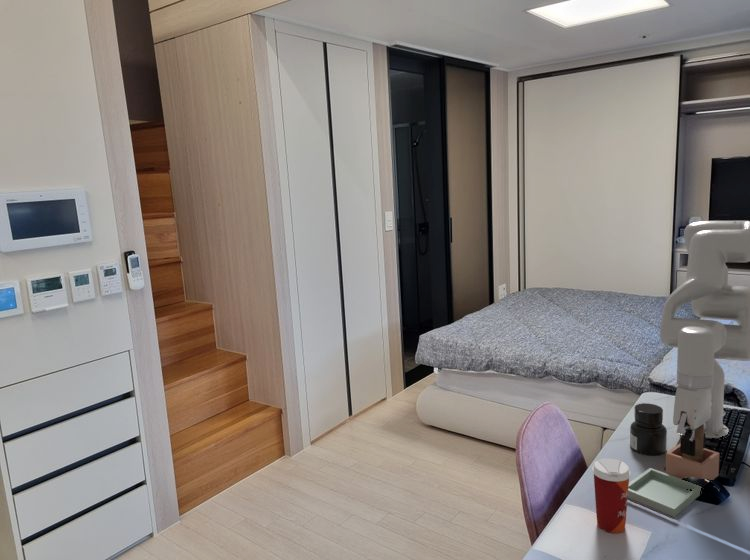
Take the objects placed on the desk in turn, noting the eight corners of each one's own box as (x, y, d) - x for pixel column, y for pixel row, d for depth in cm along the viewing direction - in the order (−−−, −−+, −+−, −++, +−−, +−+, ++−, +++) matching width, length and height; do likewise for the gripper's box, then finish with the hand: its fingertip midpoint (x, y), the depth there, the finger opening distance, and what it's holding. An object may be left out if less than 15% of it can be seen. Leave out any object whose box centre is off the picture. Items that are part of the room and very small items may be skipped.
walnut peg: (686, 468, 142) (688, 420, 139) (705, 475, 138) (707, 425, 136) (678, 475, 139) (679, 425, 137) (697, 482, 136) (698, 431, 133)
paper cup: (634, 537, 119) (634, 476, 116) (595, 535, 120) (595, 474, 118) (625, 515, 126) (626, 457, 124) (589, 513, 128) (589, 456, 125)
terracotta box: (681, 464, 145) (682, 441, 144) (718, 477, 138) (719, 452, 137) (665, 477, 140) (665, 453, 139) (702, 491, 133) (703, 465, 132)
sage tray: (650, 476, 141) (650, 467, 140) (701, 496, 131) (701, 486, 131) (621, 497, 133) (621, 487, 133) (674, 519, 124) (674, 509, 123)
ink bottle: (636, 438, 160) (637, 398, 158) (670, 447, 154) (671, 405, 152) (624, 452, 153) (625, 411, 151) (660, 462, 147) (661, 418, 145)
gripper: (694, 366, 142) (692, 434, 146) (661, 384, 132) (659, 457, 136) (727, 373, 136) (724, 443, 140) (695, 393, 126) (692, 468, 130)
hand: (692, 449), depth 138 cm, fingers closed on walnut peg, 4 cm apart
